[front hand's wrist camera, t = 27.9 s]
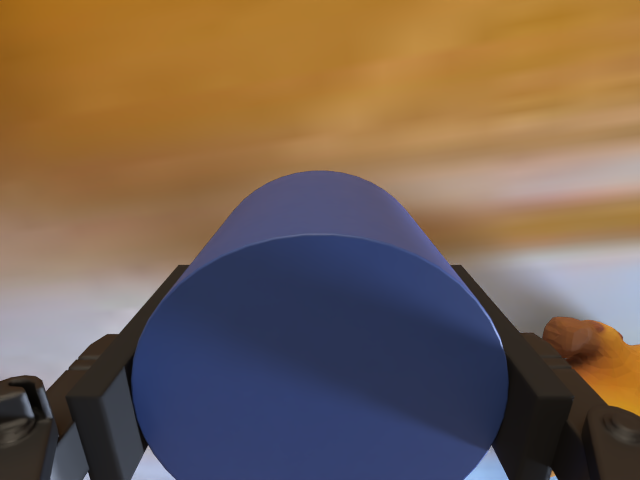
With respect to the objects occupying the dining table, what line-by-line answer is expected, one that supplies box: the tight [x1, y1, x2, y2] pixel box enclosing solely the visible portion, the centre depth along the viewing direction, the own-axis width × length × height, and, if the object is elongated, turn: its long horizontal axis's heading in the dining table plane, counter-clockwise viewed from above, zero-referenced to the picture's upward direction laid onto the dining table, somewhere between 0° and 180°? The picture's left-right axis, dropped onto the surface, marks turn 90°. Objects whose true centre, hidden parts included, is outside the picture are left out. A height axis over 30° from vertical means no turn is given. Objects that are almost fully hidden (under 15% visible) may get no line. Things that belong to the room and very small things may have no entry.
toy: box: [542, 317, 640, 477], centre depth 23 cm, size 11×6×15 cm
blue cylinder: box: [131, 171, 509, 480], centre depth 12 cm, size 9×9×7 cm
